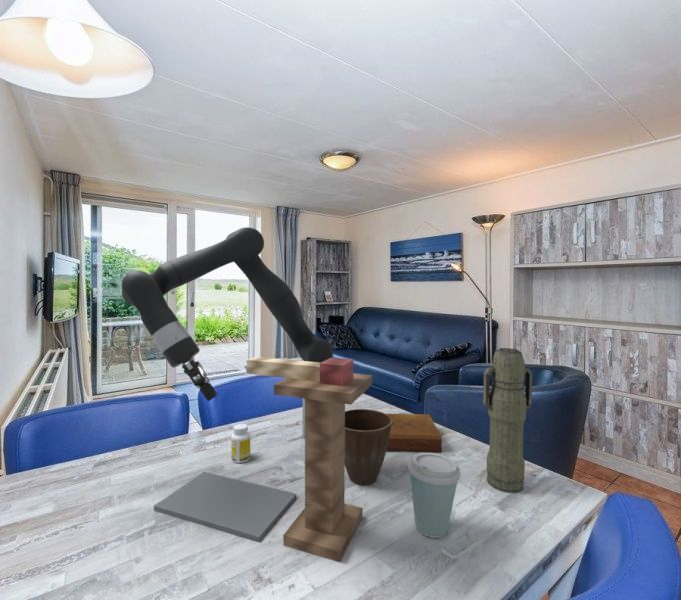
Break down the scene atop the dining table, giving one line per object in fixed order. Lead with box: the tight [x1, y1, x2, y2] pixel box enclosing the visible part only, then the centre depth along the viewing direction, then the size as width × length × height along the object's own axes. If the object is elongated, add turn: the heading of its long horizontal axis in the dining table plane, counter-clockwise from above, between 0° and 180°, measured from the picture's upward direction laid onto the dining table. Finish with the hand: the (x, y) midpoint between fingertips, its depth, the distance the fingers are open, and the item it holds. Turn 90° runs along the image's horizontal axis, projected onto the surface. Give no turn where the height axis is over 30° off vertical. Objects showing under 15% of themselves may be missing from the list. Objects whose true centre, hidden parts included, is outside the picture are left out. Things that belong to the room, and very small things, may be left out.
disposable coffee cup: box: [407, 452, 461, 539], centre depth 76 cm, size 11×11×15 cm
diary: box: [386, 413, 443, 453], centre depth 120 cm, size 23×19×6 cm
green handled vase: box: [482, 347, 533, 494], centre depth 93 cm, size 9×12×35 cm
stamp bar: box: [246, 356, 354, 386], centre depth 77 cm, size 23×6×4 cm, turn 69°
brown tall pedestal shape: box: [273, 372, 373, 563], centre depth 75 cm, size 16×14×32 cm
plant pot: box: [345, 408, 392, 486], centre depth 96 cm, size 15×15×16 cm
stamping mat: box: [153, 471, 297, 543], centre depth 85 cm, size 28×16×1 cm, turn 69°
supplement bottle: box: [230, 423, 251, 464], centre depth 106 cm, size 5×5×10 cm
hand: (213, 397), depth 89 cm, fingers open, 8 cm apart
